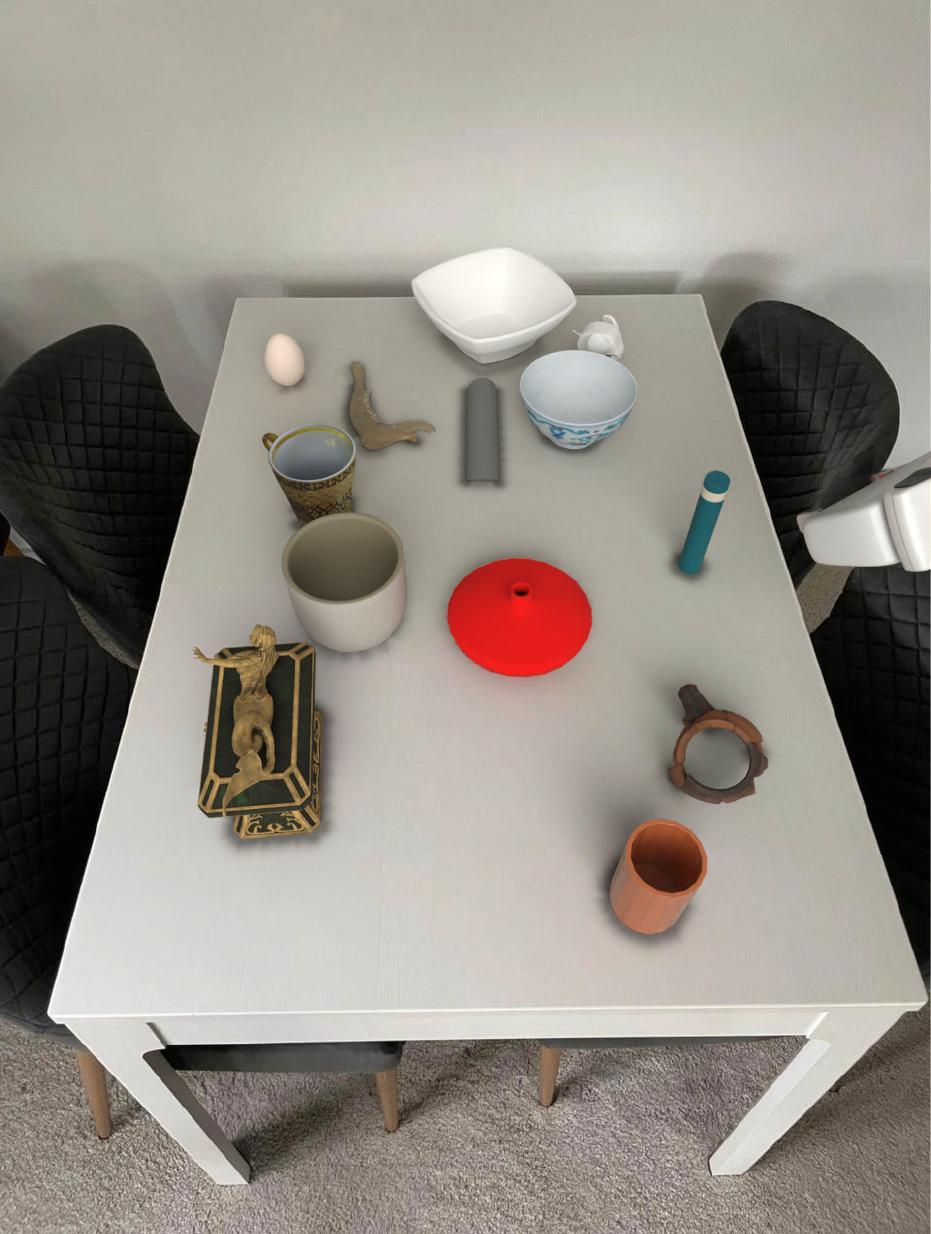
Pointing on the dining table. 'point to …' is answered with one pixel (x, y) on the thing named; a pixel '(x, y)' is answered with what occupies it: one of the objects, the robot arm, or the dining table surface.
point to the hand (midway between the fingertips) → (841, 500)
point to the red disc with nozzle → (519, 617)
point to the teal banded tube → (704, 521)
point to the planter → (346, 580)
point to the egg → (284, 359)
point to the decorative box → (263, 738)
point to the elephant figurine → (602, 338)
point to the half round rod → (482, 431)
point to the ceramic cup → (314, 469)
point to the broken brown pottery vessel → (707, 716)
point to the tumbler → (657, 875)
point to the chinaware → (577, 396)
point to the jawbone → (369, 422)
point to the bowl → (493, 301)
